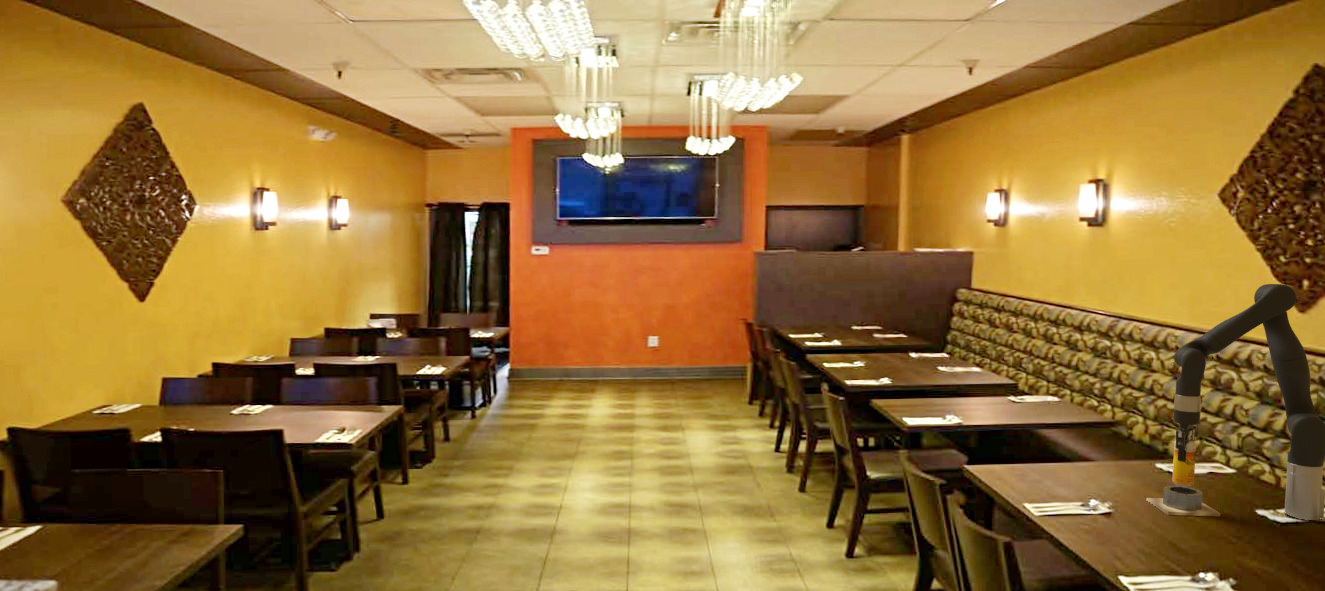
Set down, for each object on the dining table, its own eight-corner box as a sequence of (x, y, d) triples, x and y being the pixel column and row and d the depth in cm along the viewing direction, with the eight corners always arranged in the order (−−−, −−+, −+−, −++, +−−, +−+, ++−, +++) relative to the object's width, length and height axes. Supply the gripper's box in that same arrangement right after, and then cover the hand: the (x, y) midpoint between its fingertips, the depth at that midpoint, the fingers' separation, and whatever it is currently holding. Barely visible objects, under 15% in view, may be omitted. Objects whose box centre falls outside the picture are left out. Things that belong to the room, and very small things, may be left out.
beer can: (1192, 488, 286) (1194, 443, 284) (1170, 485, 289) (1173, 440, 288) (1194, 484, 290) (1197, 439, 289) (1173, 481, 294) (1175, 436, 293)
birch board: (1195, 501, 297) (1196, 499, 297) (1220, 516, 282) (1220, 513, 282) (1146, 500, 298) (1146, 497, 298) (1167, 514, 284) (1168, 511, 283)
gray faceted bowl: (1191, 500, 295) (1191, 486, 295) (1208, 511, 284) (1209, 495, 284) (1157, 499, 296) (1157, 485, 296) (1173, 510, 285) (1173, 494, 285)
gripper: (1194, 413, 280) (1191, 465, 282) (1206, 407, 290) (1203, 457, 292) (1167, 410, 285) (1165, 461, 287) (1180, 403, 296) (1178, 453, 297)
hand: (1184, 459), depth 289 cm, fingers closed on beer can, 5 cm apart
